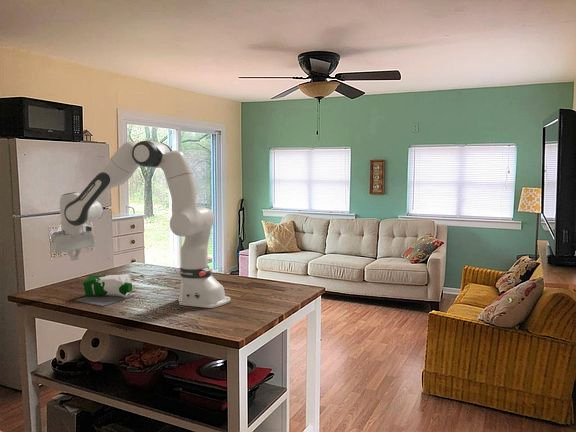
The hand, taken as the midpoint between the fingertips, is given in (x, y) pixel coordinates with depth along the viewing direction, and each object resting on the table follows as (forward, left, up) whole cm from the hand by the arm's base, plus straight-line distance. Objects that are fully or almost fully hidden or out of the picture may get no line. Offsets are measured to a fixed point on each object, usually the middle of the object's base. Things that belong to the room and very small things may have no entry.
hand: (74, 259), depth 212 cm
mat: (-19, 0, -15) cm, 24 cm away
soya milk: (-8, 0, -11) cm, 13 cm away
